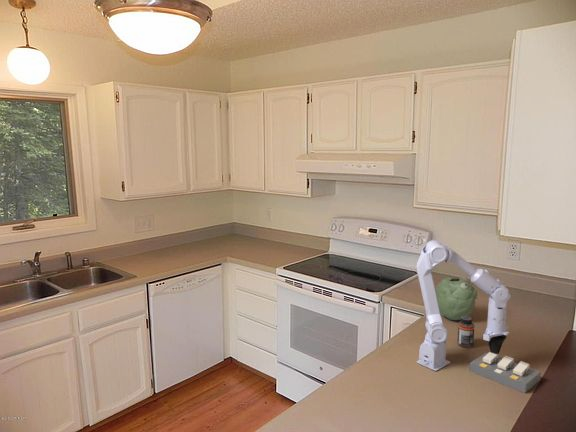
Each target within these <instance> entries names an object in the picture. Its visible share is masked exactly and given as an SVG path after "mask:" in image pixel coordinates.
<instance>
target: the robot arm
mask: <svg viewBox="0 0 576 432" xmlns="http://www.w3.org/2000/svg"><path fill="white" fill-rule="evenodd" d="M442 263H445V264H454V265H455V266H456V267H458V268H459V269H460V270H461V271H464V273H466V274H468V275H469V277H470V283H472V284H473V285H475V286H477V287H478V288H479V289H480V290H481V291H482V292H484V293H486V294H487V295H488V306H487V307H488V308H487V321H486V323H487V324H486V328H485V332H484V333H483V335H482V337H483V338H482V340H483V341H487V344H488V348H489V352H491V353H494V354H500V351H501V348H502V346H503V343H504V341H505V340H506V339H507V336H508V335H510V334H509V333H510V332H509V331H508V329H509V324H507V311H508V310H507V309H508V302H509V300H510V299H511V294H510V290H509V289H508V288H507V287H506V286H505V284H503V283H502V282H501V280H499V278H496V277H493V276H492V275H491V274H490V271H488V270H487V269H483V268H476V267H475V266H473V265H472V264H471V263H470V262H468V261H467V260H466V259H465V258H463V257H462V256H461V255H460V254H458V253H457V252H456V251H455V250H454V249H452V248H451V247H449V246H447V245H445V244H443V243H442V242H440V241H439V240H437V239H431V240H430V241H427V242H426V244H425V245H423V247H422V248H421V253H420V255H419V257H418V260H417V262H416V266H415V267H416V268H415V269H416V272H417V278H418V282H419V286H420V291H421V296H422V301H423V305H424V306H423V307H424V310H425V318H426V321H425V323H424V326H425V328H426V331H427V332H426V334H425V335H424V341H423V342H422V343H421V344H420V346H419V352H418V360H417V361H416V363H417V364H418V365H421V366H423V367H425V368H428V369H430V370H433V371H435V372H437V371H438V370H441V369H443V368H444V367H446V366H448V365H449V364H451V361H449V360H448V359H446V354H447V340H448V337H449V333H448V332H449V331H448V330H447V329H446V328H445V325H444V322H443V319H442V316H441V313H440V311H439V306H438V302H437V297H436V292H435V290H436V288H435V283H434V278H433V274H432V272H433V271H434V269H435V268H437V267H438V266H439V265H441V264H442Z"/></svg>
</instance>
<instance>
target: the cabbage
mask: <svg viewBox="0 0 576 432" xmlns="http://www.w3.org/2000/svg"><path fill="white" fill-rule="evenodd" d="M473 285H474V283H472V282H471V281H469V278H468V277H466V276H463V277H450V276H447V277H445V278H443V279H441V281H440V282H438V284H437V286H436V288H435V292H436V297H437V302H438V306H439V311H440V315H442V316H443V317H445V318H446V319H448V320H450V321H461V317H462V316H468V317H469V315H471V313H473V311H474V310H475V307H476V300H477V299H478V290H477V289H476V288H475V287H474V286H473Z"/></svg>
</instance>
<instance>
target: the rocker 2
mask: <svg viewBox="0 0 576 432" xmlns="http://www.w3.org/2000/svg"><path fill="white" fill-rule="evenodd" d="M502 358H503V359H502V360H501V361H500V362H499V363H498V364H497V367H499V368H501V369H504V370H506V369H507V368H508V367H509V366H510V364H511V363H513V362H515V361H514V358H513V357H510V356H507V355H504V356H503V357H502Z"/></svg>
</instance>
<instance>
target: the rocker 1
mask: <svg viewBox="0 0 576 432" xmlns="http://www.w3.org/2000/svg"><path fill="white" fill-rule="evenodd" d="M487 353H488V354H487V355H486V356H485V357H483V361H484V362H486V363H489V364H491V363H492V362H493V361H495V358H498V357H500V356H499V354H500V353H499V354H494V353H491V352H490V351H489V352H487Z"/></svg>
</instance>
